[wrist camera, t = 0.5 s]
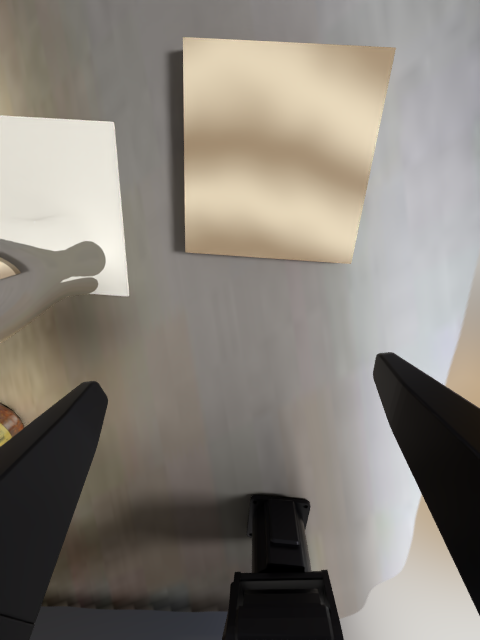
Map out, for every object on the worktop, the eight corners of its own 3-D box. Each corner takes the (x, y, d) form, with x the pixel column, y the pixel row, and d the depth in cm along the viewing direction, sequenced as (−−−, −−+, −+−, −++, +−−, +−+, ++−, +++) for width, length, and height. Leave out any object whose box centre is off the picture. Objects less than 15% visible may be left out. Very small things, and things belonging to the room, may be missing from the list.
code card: (129, 295, 22) (128, 296, 22) (11, 286, 23) (9, 287, 22) (114, 122, 18) (112, 122, 18) (-31, 114, 18) (-34, 113, 18)
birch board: (345, 261, 20) (350, 263, 19) (189, 250, 21) (185, 252, 20) (386, 59, 16) (395, 47, 15) (187, 49, 16) (182, 37, 15)
